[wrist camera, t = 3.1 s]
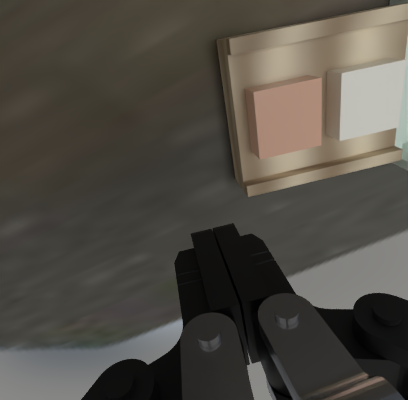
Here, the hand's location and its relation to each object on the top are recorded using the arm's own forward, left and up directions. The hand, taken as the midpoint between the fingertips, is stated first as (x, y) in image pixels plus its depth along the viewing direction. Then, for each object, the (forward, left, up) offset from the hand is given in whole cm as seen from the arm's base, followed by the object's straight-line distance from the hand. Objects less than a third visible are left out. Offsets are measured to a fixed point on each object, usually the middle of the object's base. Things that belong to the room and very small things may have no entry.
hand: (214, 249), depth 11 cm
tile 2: (+15, 0, -15) cm, 21 cm away
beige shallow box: (+12, 0, -18) cm, 21 cm away
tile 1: (+8, 0, -15) cm, 17 cm away
